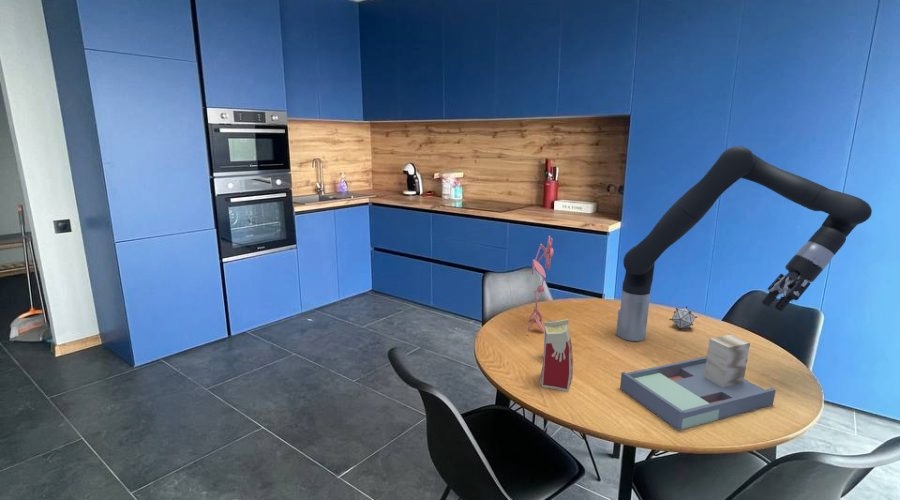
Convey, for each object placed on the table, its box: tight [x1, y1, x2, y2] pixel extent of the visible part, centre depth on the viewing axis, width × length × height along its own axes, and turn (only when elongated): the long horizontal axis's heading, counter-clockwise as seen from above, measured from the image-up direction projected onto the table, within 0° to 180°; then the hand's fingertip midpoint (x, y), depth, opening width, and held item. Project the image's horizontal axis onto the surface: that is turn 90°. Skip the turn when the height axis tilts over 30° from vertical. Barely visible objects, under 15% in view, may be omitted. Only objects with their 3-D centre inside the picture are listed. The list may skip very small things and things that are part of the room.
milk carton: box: [539, 318, 574, 393], centre depth 134 cm, size 9×9×20 cm
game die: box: [668, 306, 698, 331], centre depth 174 cm, size 9×8×10 cm
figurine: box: [525, 235, 562, 337], centre depth 172 cm, size 15×26×35 cm, turn 170°
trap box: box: [619, 355, 777, 431], centre depth 128 cm, size 33×21×5 cm, turn 110°
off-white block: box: [704, 334, 751, 388], centre depth 130 cm, size 8×6×12 cm
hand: (770, 307), depth 133 cm, fingers open, 8 cm apart
